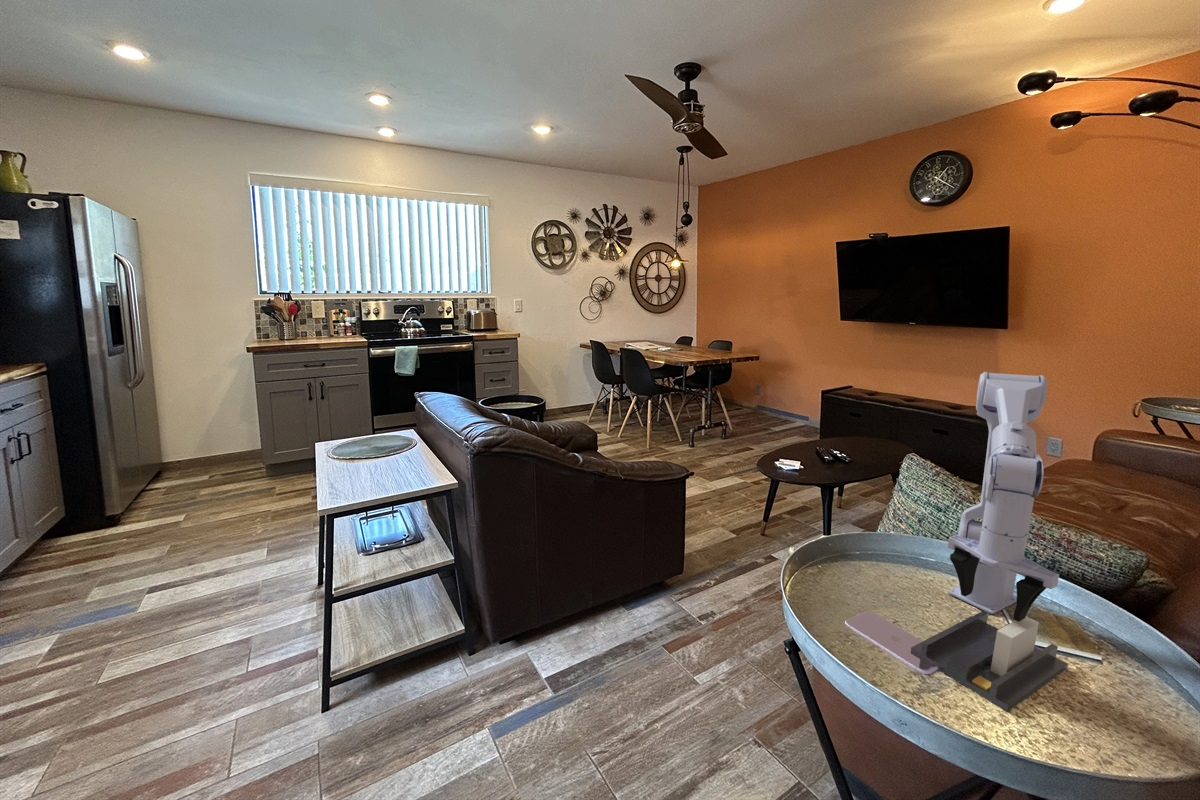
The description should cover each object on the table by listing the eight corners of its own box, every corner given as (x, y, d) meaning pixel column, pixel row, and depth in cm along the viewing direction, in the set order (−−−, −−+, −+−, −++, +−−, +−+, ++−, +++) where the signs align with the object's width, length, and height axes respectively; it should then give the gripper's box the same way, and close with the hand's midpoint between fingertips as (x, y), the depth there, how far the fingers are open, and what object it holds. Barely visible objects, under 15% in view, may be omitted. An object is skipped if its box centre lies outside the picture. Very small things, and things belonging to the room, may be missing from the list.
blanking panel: (1017, 653, 84) (1024, 615, 83) (1031, 661, 82) (1039, 622, 81) (990, 670, 80) (997, 630, 79) (1005, 678, 79) (1012, 638, 77)
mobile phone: (869, 608, 97) (953, 656, 84) (868, 613, 97) (952, 662, 84) (841, 620, 94) (925, 673, 81) (841, 625, 94) (924, 678, 81)
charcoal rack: (971, 620, 94) (973, 605, 93) (1067, 669, 82) (1070, 652, 81) (910, 652, 86) (912, 636, 85) (1007, 711, 74) (1010, 693, 73)
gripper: (941, 517, 86) (931, 590, 89) (1048, 555, 73) (1032, 639, 76) (965, 508, 89) (954, 579, 92) (1071, 543, 76) (1055, 624, 79)
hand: (991, 605), depth 84 cm, fingers open, 7 cm apart
